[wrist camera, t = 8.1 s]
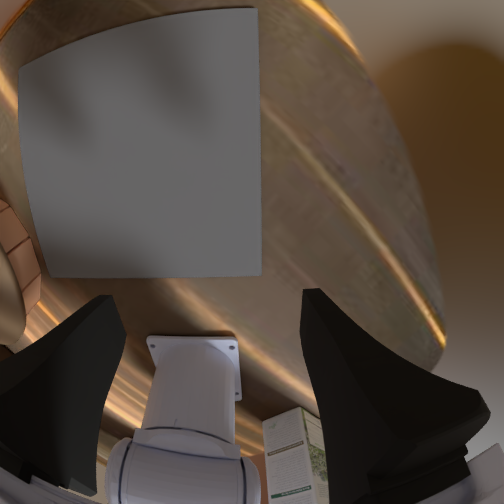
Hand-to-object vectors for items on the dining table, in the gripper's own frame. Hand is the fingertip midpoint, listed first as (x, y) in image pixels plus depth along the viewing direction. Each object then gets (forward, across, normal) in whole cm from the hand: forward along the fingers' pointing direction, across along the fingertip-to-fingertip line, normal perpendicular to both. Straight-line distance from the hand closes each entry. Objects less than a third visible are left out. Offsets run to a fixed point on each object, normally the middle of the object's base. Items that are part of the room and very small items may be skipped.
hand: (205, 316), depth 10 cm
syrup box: (+10, -6, +26) cm, 28 cm away
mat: (+9, +6, -5) cm, 12 cm away
